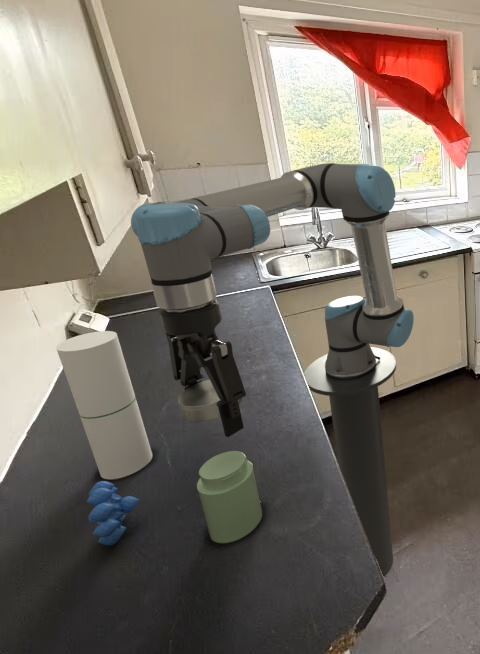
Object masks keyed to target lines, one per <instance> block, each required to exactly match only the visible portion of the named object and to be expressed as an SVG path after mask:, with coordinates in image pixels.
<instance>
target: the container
mask: <svg viewBox="0 0 480 654" xmlns="http://www.w3.org/2000/svg"><path fill="white" fill-rule="evenodd" d="M55 349H56V352H57V355H58V357H59V361H60V363H61V366H62V369H63V371H64V374H65V377H66V380H67V383H68V386H69V389H70V391H71V394H72V397H73V401H74V404H75V406H76V409H77V412H78V415H79V417H80V421H81V424H82V427H83V430H84V432H85V434H86V438H87V440H88V443H89V446H90V450H91V452H92V455H93V458H94V461H95V464H96V467H97V469H98V472H99V475H100V478H102V479H103V480H119V479H122V478H125V477H127V476H130V475H132V474H134V473H137V472H138V471H140V470H142V469H143V468H145V467H146V466H147V465H148V464H149V463H150V462H151V461H152V459H153V451H152V448H151V446H150V441H149V439H148V435H147V432H146V428H145V425H144V421H143V418H142V414H141V411H140V408H139V405H138V401H137V398H136V394H135V391H134V388H133V385H132V379H131V378H130V374H129V371H128V367H127V363H126V360H125V356H124V353H123V350H122V347H121V343H120V339H119V336H118V333H117V332H116V331H111V330H101V331H100V330H99V331H93V332H87V333H83V334H79V335H75V336H73V337H70V338H68V339H65V340H63V341H61V342H60V343H58V344H57V345H56V347H55Z"/></svg>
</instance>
